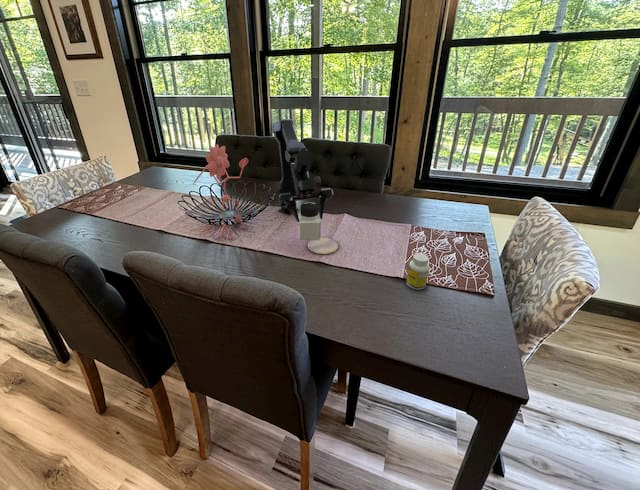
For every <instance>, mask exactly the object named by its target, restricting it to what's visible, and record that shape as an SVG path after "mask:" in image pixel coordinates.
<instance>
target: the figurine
mask: <svg viewBox="0 0 640 490" xmlns="http://www.w3.org/2000/svg"><path fill="white" fill-rule="evenodd" d="M226 148H227V147H226V145H222V146H221V147H220V146H219V144H218V143H216V144H215V145H214V146H210V149H209V152H210V154H206V155H205V161H206V163H208V164H207V165H205V167H204V168H203V169H202V171H200V173H199V174H198V176H196V177H195V180H194V181H193V184H195V183H196V182H197V181H198V180H199V178H200V177H201V176H202V174H203V173H204V172H205V171H206V170H207V171H209V177H210V178H212V177H213V179H214V180H215V182H216V183H217V185H218V186H220V185H221V184H223V196H222V197H221V198H222V209H221V216H222V228H221V230H220V232H219V234H218V236H217V238H219V237H220V236H221V235H222V233H223V231H224V230H225V232H226V234H227V236H228V237H229V239H230V240H232V237H231V235H230V233H229V230H228V228H227V227H226V225H227V223H225V221H224V207H225V206H224V205H225V203H228V202H230V200H232V201H237V216H236V217H235V218H234V220H233V223H234V224H235V225H237V224H238V223H239V222H240V224H241V226H242V228H243V230H246V226H245V225H244V223H243V221H242V216H243V215H242V214H240V213H239V212H240V209H239V208H240V207H239V206H240V205H239V201H240V200H239V199H237V198H230V196H229V195H227V194H226V182H227V181H228V180H230V179H241V178H242V174H243V171H244V168H245V167H246V166H248V164H249V158H247V157H244V158H242V159H241V160H240V161H239V163H238V167H240V168H241V170H240V173H239V176H229V174H228V171H227V169H229V167H230V166H231V165H230V161H229V160H228V158H229V157H228V153H226ZM225 175H226V177H225V178H224V179H223V180H221V181H219V180H220V179H221V177H222V176H225ZM220 223H221V221H219V222H217V223H214V224H213V225H209V226H208V229H209V228H211V227H212V226H215V225H216V224H220ZM206 231H207V230H205V231H204V232H203V234H205V233H206Z"/></svg>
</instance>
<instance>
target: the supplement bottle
mask: <svg viewBox="0 0 640 490" xmlns="http://www.w3.org/2000/svg"><path fill="white" fill-rule="evenodd" d="M429 259H430V258H429V257H428V255H426V254H424V253H418V252H417V253H414V254H413V257H412V259H411V260H410V262H409V264H408V269H407V276H406V283H405V284H406V285H407V286H408V287H409V288H410V289H413V290H418V291H419V290H420V291H421V290H423V289H425V288H426V286H427V283H428V277H429V273H430V266H431V265H430V264H429Z"/></svg>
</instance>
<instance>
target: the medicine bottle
mask: <svg viewBox="0 0 640 490" xmlns="http://www.w3.org/2000/svg"><path fill="white" fill-rule="evenodd" d="M298 216H299V222H298V240H299V241H311V240H320V238H321V226H322V225H321V224H322V223H321V219H320V216H319V211H318V205H317V202H313V201H312V202H311V201H307V202H303V203H301V205H300V213H298Z"/></svg>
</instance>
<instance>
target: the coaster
mask: <svg viewBox="0 0 640 490" xmlns="http://www.w3.org/2000/svg"><path fill="white" fill-rule="evenodd" d="M306 247H307V249H308V250H309V251H310V252H311V253H313V254H317V255H330V254H334V253H335V252H336V251H338V248H339V245H338V243H337V241H336V240H334V239H332V238H328V237H320V240H308V242H307V246H306Z"/></svg>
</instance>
